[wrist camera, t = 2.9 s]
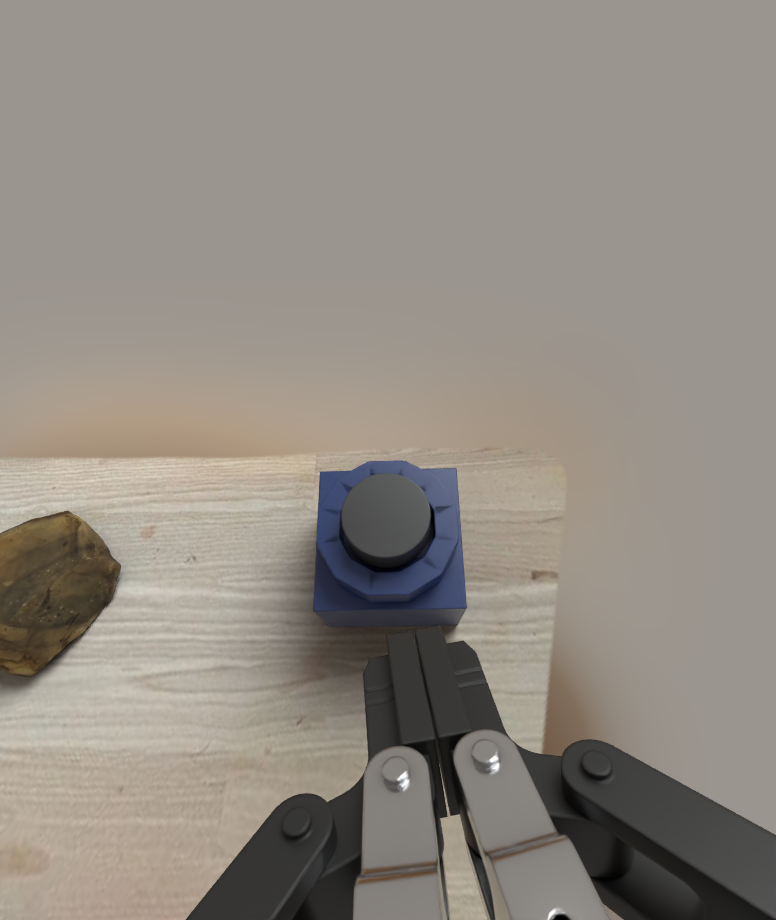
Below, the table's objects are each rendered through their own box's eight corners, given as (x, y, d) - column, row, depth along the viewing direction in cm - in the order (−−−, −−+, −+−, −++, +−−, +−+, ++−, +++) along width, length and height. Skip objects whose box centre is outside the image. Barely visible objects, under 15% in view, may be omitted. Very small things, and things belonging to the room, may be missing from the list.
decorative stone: (64, 494, 38) (31, 474, 35) (143, 578, 35) (116, 565, 32) (-71, 609, 35) (-119, 598, 31) (5, 712, 32) (-41, 712, 28)
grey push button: (427, 487, 29) (428, 471, 27) (431, 567, 27) (432, 556, 25) (346, 489, 29) (342, 473, 27) (344, 569, 27) (339, 558, 25)
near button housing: (449, 503, 36) (459, 452, 29) (457, 625, 33) (470, 601, 25) (333, 506, 36) (314, 456, 29) (329, 627, 33) (306, 604, 26)
